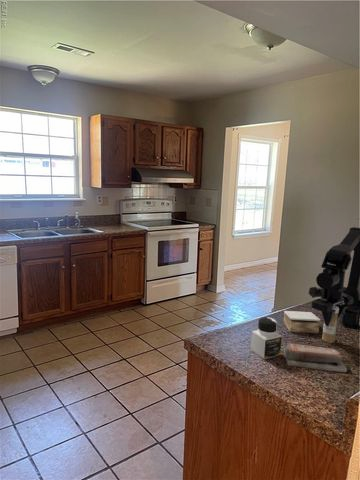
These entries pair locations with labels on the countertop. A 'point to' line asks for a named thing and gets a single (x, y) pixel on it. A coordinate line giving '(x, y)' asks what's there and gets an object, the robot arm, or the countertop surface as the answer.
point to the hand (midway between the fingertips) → (330, 323)
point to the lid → (301, 316)
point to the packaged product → (314, 357)
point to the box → (301, 325)
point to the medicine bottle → (266, 339)
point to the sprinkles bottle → (330, 328)
